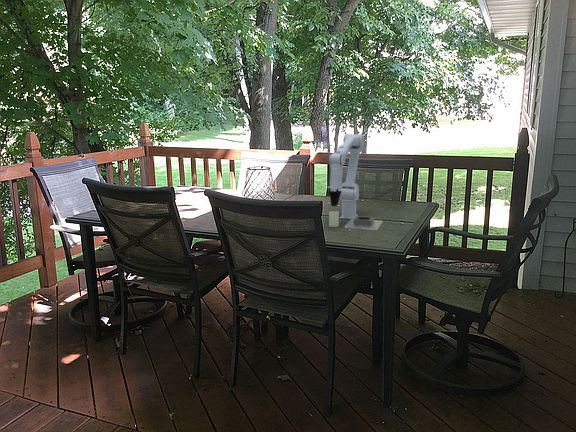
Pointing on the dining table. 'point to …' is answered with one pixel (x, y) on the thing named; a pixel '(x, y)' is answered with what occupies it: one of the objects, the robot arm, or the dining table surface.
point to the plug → (334, 219)
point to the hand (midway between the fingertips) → (334, 205)
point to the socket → (364, 223)
